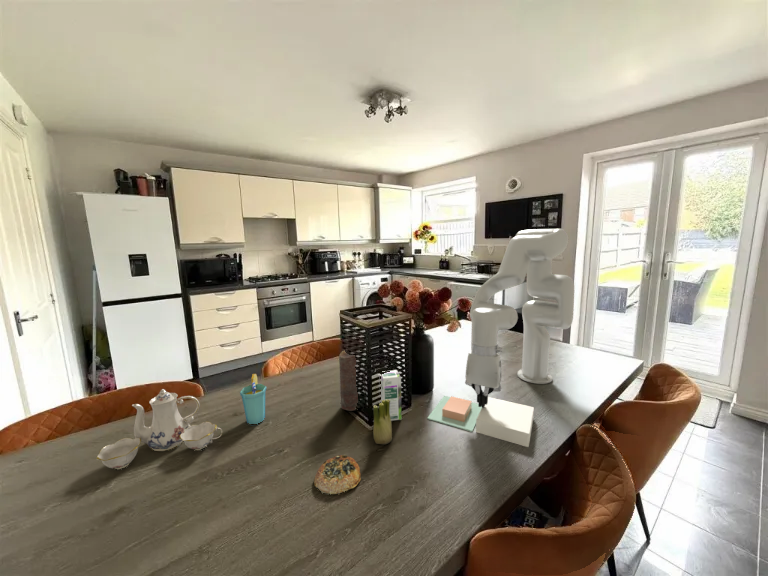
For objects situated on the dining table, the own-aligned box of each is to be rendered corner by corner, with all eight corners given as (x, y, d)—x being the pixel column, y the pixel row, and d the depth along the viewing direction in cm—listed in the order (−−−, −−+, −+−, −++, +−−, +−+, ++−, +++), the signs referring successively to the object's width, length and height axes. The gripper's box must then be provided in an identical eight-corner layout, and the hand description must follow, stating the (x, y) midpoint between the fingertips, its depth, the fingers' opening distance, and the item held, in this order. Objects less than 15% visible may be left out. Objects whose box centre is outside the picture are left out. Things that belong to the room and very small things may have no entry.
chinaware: (90, 493, 72) (75, 433, 68) (111, 446, 86) (100, 394, 82) (223, 453, 85) (217, 401, 81) (223, 418, 99) (217, 372, 95)
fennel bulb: (374, 448, 83) (373, 407, 81) (370, 437, 88) (369, 398, 86) (395, 444, 85) (394, 404, 83) (390, 434, 89) (389, 395, 87)
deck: (486, 407, 102) (487, 396, 101) (533, 419, 95) (533, 407, 95) (476, 432, 89) (476, 419, 89) (528, 447, 82) (529, 433, 82)
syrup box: (384, 422, 95) (383, 378, 93) (380, 412, 101) (379, 370, 98) (401, 420, 96) (401, 376, 94) (397, 410, 102) (396, 368, 100)
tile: (471, 401, 101) (471, 408, 101) (451, 396, 104) (450, 403, 105) (464, 414, 93) (464, 422, 94) (442, 408, 97) (442, 416, 97)
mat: (444, 396, 110) (444, 395, 110) (484, 406, 103) (484, 405, 103) (427, 419, 96) (427, 417, 96) (472, 432, 89) (472, 430, 89)
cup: (271, 430, 92) (268, 383, 90) (243, 437, 89) (239, 389, 86) (267, 408, 104) (263, 366, 102) (242, 414, 101) (238, 371, 99)
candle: (359, 415, 99) (357, 356, 96) (337, 413, 101) (335, 355, 98) (365, 403, 107) (363, 348, 104) (345, 401, 108) (343, 347, 105)
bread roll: (339, 455, 81) (340, 439, 79) (370, 480, 74) (371, 463, 73) (304, 482, 72) (304, 465, 71) (335, 513, 66) (336, 495, 64)
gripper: (512, 348, 92) (509, 405, 94) (462, 341, 99) (461, 394, 102) (508, 357, 85) (505, 417, 88) (455, 348, 93) (455, 405, 95)
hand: (482, 405), depth 95 cm, fingers closed
